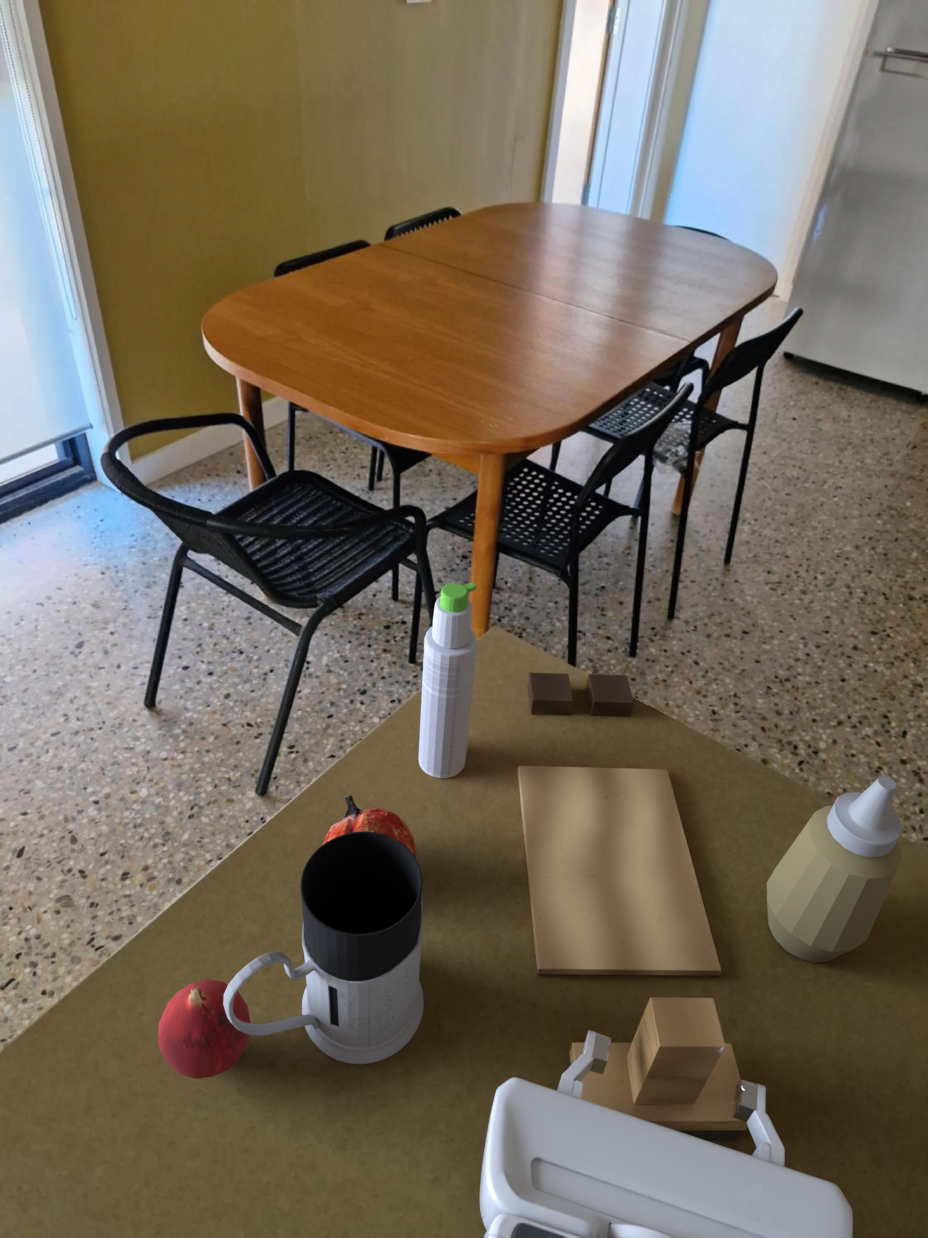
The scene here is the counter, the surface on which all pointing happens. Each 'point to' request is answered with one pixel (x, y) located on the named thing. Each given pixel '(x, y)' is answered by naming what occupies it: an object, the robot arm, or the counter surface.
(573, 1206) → the robot arm
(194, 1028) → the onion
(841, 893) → the squeeze bottle
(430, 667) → the bottle
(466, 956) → the counter surface
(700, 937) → the board
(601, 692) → the dark brown square block
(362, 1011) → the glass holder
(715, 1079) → the brush
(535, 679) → the chip
